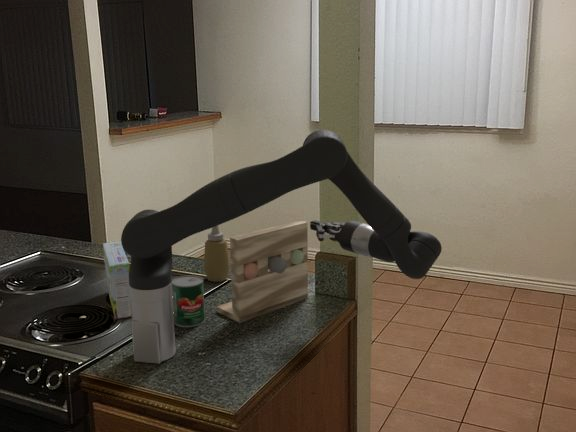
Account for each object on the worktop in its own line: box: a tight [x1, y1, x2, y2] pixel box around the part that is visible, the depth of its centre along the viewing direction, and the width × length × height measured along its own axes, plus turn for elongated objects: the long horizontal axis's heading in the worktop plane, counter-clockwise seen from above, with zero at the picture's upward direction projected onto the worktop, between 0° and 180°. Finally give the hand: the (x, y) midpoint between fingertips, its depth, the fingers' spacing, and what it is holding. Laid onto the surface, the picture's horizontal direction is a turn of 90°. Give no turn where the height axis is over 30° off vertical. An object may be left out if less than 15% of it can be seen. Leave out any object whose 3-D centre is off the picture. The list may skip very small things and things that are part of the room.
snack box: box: [102, 240, 132, 320], centre depth 172 cm, size 21×6×15 cm, turn 21°
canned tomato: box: [171, 274, 206, 328], centre depth 161 cm, size 8×8×11 cm
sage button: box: [291, 249, 304, 265], centre depth 171 cm, size 4×4×4 cm
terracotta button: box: [244, 262, 258, 279], centre depth 161 cm, size 4×4×4 cm
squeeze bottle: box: [203, 225, 231, 283], centre depth 190 cm, size 8×8×18 cm
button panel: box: [215, 219, 309, 324], centre depth 169 cm, size 10×24×22 cm, turn 133°
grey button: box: [268, 256, 287, 274], centre depth 165 cm, size 4×4×4 cm
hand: (312, 224), depth 164 cm, fingers closed
